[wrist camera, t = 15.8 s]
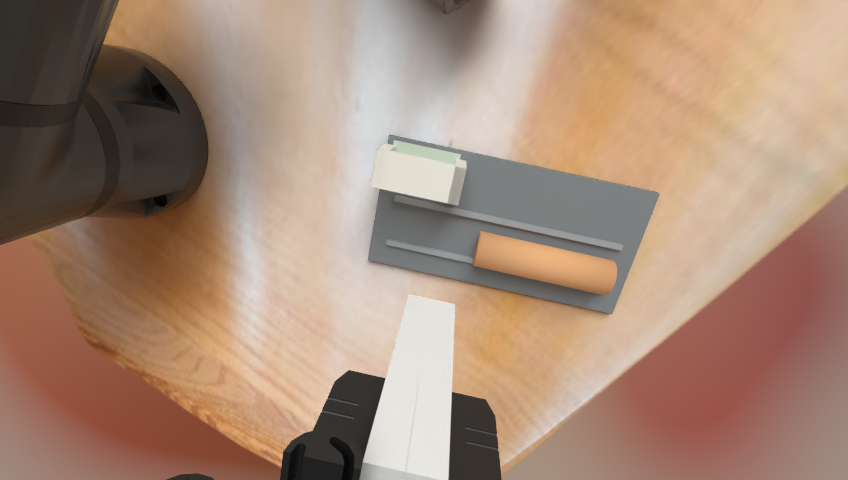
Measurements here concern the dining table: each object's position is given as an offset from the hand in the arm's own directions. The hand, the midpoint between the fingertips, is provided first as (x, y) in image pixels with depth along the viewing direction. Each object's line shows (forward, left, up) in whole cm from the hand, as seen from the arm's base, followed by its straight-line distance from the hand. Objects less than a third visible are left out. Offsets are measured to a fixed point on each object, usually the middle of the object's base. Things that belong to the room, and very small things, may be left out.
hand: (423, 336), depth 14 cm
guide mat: (+6, -3, -26) cm, 27 cm away
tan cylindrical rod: (+10, -4, -26) cm, 28 cm away
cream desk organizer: (-3, +1, -26) cm, 26 cm away
